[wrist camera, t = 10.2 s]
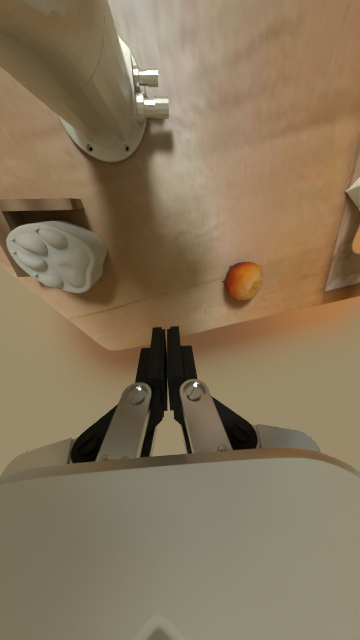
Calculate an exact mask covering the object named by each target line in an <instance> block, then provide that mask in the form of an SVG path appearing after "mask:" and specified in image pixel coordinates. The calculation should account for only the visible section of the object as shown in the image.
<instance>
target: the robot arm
mask: <svg viewBox="0 0 360 640" xmlns="http://www.w3.org/2000/svg"><path fill="white" fill-rule="evenodd" d="M0 66H1V67H2V68H3V69H4V70H5V71H7V72H8V73H9V74H10V75H11V76H12V77H13V78H15V79H16V80H17V81H18V82H19V83H21V84H22V85H23V86H24V87H25V88H26V89H28V90H29V91H30V92H31V93H32V94H34V95H35V96H36V97H37V98H38V99H40V100H41V101H42V102H43V103H44V104H46V105H47V106H48V107H49V108H50V109H52V110H53V111H54V112H55V113H56V114H58V116H59V119H60V121H61V123H62V125H63V126H64V128H65V130H66V131H67V133H68V134H69V136H70V137H71V138H72V140H73V141H74V142H75V143H76V144H77V145H78V146H79V147H80V148H81V149H82V150H83V151H84V152H86V153H87V154H89V155H90V156H92V157H94V158H95V159H98V160H100V161H103V162H110V163H114V162H120V161H122V160H125V159H127V158H128V157H129V156H131V155H132V154H133V153H134V152H135V151H136V149H137V148H138V146H139V145H140V143H141V141H142V138H143V135H144V132H145V128H146V122H147V118H156V119H169V109H168V97H165V96H155V98H146V92H145V87H144V86H149V87H158V72H157V69H147V70H145V69H139V67H138V65H137V63H136V60H135V58H134V56H133V54H132V53H131V51H130V49H129V48H128V46H127V45H126V43H125V42H124V41H123V40H122V39H121V37H120V36H119V35H118V34H117V31H116V28H115V24H114V21H113V17H112V14H111V10H110V7H109V3H108V0H0ZM91 147H92V148H93V150H92V151H90V148H91ZM127 147H128V148H129V151H126V148H127ZM167 376H168V389H169V401H170V410H174V419H175V420H176V421H178V422H179V424H181V430H182V434H183V439H184V444H185V449H186V454H179V455H167V456H155V457H152V453H153V447H154V442H155V437H156V431H157V425H158V424H159V423H160V422H161V421H162V418H163V417H164V411H167ZM0 640H360V472H359V471H357V470H356V469H355V468H353V467H352V466H350V465H348V464H346V463H344V462H342V461H340V460H338V459H336V458H334V457H331V456H328V455H326V454H323V453H321V452H320V449H319V447H318V446H317V444H316V442H315V441H314V440H313V439H312V438H311V437H310V436H308V435H307V434H305V433H303V432H300V431H297V430H291V429H285V428H279V427H273V426H267V425H262V424H257V426H256V425H251V424H250V423H249V422H247V421H246V420H245V419H243V418H242V417H240V416H239V415H237V414H236V413H235V412H233V411H232V410H230V409H229V408H228V407H226V406H225V405H223V404H222V403H220V402H219V401H218V400H216V399H215V398H213V397H212V396H211V394H210V392H209V389H208V387H207V386H206V384H205V383H203V382H202V381H200V380H197V374H196V369H195V363H194V357H193V352H192V346H180V336H179V326H175V327H170V329H167V351H166V339H165V329H162V328H161V327H155V328H153V331H152V340H151V348H142V349H141V353H140V359H139V364H138V369H137V375H136V381H135V383H134V384H131V385H130V386H128V387H127V388H126V389H125V391H124V392H123V394H122V396H121V399H120V401H119V403H118V405H116V406H115V407H114V408H113V409H112V410H110V411H109V412H108V413H107V414H106V415H104V416H103V417H102V418H100V419H99V420H98V421H97V422H96V423H94V424H93V425H92V426H91V427H89V428H88V429H87V430H86V431H85V432H83V433H82V434H81V435H80V436H79V437H78V438H76V439H72V438H69V439H66V440H63V441H59V442H56V443H53V444H50V445H47V446H44V447H40V448H37V449H34V450H31V451H27V452H25V453H22V454H20V455H19V456H17V457H16V458H15V459H14V460H12V461H11V462H10V463H9V464H8V466H7V467H6V468H5V470H4V471H3V473H2V475H1V477H0Z"/></svg>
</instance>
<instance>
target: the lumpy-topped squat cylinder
mask: <svg viewBox="0 0 360 640" xmlns="http://www.w3.org/2000/svg"><path fill="white" fill-rule="evenodd" d="M6 243H7V248H8V250H9V252H10V254H11V256H12V257H13V259H14V260H15V261H16V263H17V264H18V265H19V266H20V267H21V268H22V269H23V270H24V271H25V272H26V273H28V274H29V275H30V276H32V277H33V278H34V279H36V280H37V281H39V282H41V283H42V284H44V285H45V286H47V287H50V288H57V289H60V290H64V291H68V292H72V293H83V292H86V291H88V290H89V289H90V288H91V287H92V286H93V285H94V284H95V283H96V281H97V280H98V279H99V278H100V277H101V276H102V274H103V263H104V260H105V257H106V254H107V247H106V245H105V243H104V241H103V240H102V239H101V238H100V237H99V236H98V235H97V234H95V233H93V232H91V231H89V230H87V229H86V228H84V227H81V226H79V225H77V224H74V223H71V222H68V221H65V220H54V221H47V222H39V223H31V224H25V225H21V226H19V227H17V228H15V229H14V230H13V231H11V232H10V233H9V235H8V236H7V239H6Z"/></svg>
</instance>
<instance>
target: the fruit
mask: <svg viewBox="0 0 360 640" xmlns="http://www.w3.org/2000/svg"><path fill="white" fill-rule="evenodd" d="M222 282H225V287H226V289H227V291H228V293H229V295H230V296H231V297H232V298H234V299H235V300H239V301H245V300H250V299H251V298H252V297H253V296H255V295H256V294H257V293H258V291H259V290H260V289H261V286H262V282H263V272H262V269H261V267H260V266H259V265H257V264H255V263H251V262H242V263H237V264H235V265H233V266H230V269H229V271H228V272H227V275H226V279H225V281H222Z"/></svg>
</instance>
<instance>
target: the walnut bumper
mask: <svg viewBox="0 0 360 640" xmlns="http://www.w3.org/2000/svg"><path fill="white" fill-rule="evenodd" d="M81 209H83V207H82V204H81V200H80V199H71V198H64V199H5V200H0V245H1V246H2V248H3V250H4V252H5V254H6V256H7V258H8V259H9V261H10V263H11V265H12V267H13V269H14V271H15V272H16V274H17V276H18V277H26V276H30V275H29V274H28V273H26V272H25V271H24V270H23V269H22V268H21V267H20V266H19V265H18V264H17V263H16V261H15V260H14V259H13V257H12V256H11V254H10V252H9V250H8V248H7V243H6V239H7V236H8V235H9V233H10V232H11V231H13V230H14V229H15V228H17V227H19V226H21V225H25V222H24V220H23V218H22V216H21V213H20V211H39V210H81Z"/></svg>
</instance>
